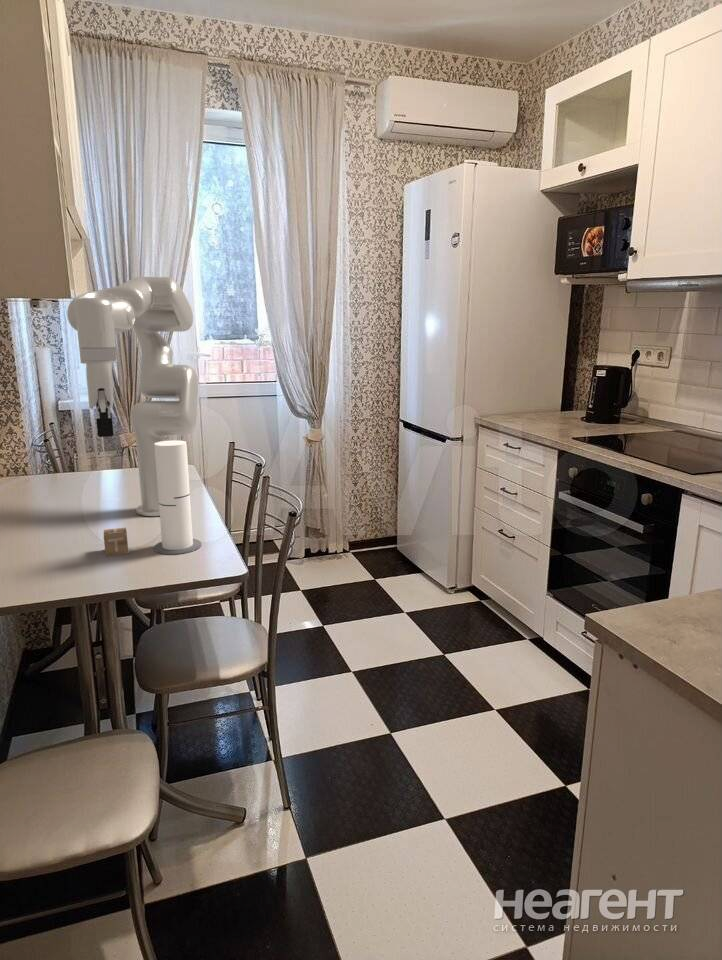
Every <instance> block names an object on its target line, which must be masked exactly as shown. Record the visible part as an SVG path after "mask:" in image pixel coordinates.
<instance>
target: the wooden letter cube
mask: <svg viewBox="0 0 722 960" xmlns="http://www.w3.org/2000/svg"><path fill="white" fill-rule="evenodd" d="M103 542H104V553H105V557H111V556H112V557H113V556H120V555H128V554H129V545H128V544H129V543H128V532H127V527H119V528H110V529H103Z"/></svg>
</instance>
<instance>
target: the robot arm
mask: <svg viewBox="0 0 722 960" xmlns="http://www.w3.org/2000/svg"><path fill="white" fill-rule="evenodd" d="M66 313H67V314H66V316H67V320H68V323H69V324H70V326H71V327H72V328H73V329H74V330H75V331H77V339H78V349H79V358H80V359H79V361H80V364H85V375H86V376H85V377H86V385H87V395H88V397H87V398H88V407H89V409H91V410H93V409H94V408H95V409H96V419H95V420H96V430H97V437H98V438H108V437H109V438H110V437H114V425H113V424H114V423H113V413H112V412H111V409H112V408H113V407H114V379H113V366H112V364H117V363H118V359H117V358H118V356H117V355H118V354H117V345H116V334H115V333H125V332H128V331H130V330H131V329H132V328H133V330H134V333H135V335H136V337H137V340H138V341H139V342H138V343H139V346H140V349H141V356H140V367H139V368H140V371H139V390H140V394H142V395H143V396H144V397H145V398H149V399H159V400H145V401H140V402H138V403H135V404H134V405H133V406H132V408H131V410H130V423H131V425H132V426H131V427H132V430H133V433H134V437H135V445H136V451H137V452H136V454H137V463H138V465H137V466H138V478H139V488H140V489H139V490H140V491H139V492H140V500H141V501H140V503H141V504H140V505H138V506H137V507H136V508H135V509H136V514H138V515H140V516H144V517H160V510H159V497H158V484H157V471H156V458H155V445H154V444H155V443H157V442H161V441H168V440H167V439H166V438H165V437H164V436H187V435H191V434H192V433H194V431H195V429H196V425H197V415H198V414H197V409H198V394H199V392H198V391H199V390H198V389H199V385H198V384H199V382H198V375H197V373H196V371H195V369H194V368H193V367H192V366H190V365H187V364H173V356H174V351H173V349H172V346H171V345H170V344H169V343H168V341H167V340H166V339H165V338H164V337H163V336H162V335H161V334H160V333H159V332H169V333H170V332H172V333H173V332H177V333H178V332H179V333H180V332H181V333H182V332H187V331H189V330H190V329H191V327H192V326H193V323H194V314H193V309H192V306H191V304H190V302H189V300H188V298H187V296H186V295H185V292H184V290H183V289H182V287H181V286H180V284H179V283H178V282H177V280H176V279H174V278H172V277H168V276H139V277H138V276H137V277H133V278H131V279H129V280H127V281H126V282H123V283H122V284H120V285H116V286H110V287H108V288H104V289H98V290H93V291H88V292H84V293H82V294H80V295H78V296H76V297H74V298H72V300H71V301H70V303H69V304H68V306H67V311H66ZM161 399H162V400H161ZM163 399H165V400H163ZM166 399H169V400H166ZM171 399H175V400H171ZM176 399H177V400H176Z"/></svg>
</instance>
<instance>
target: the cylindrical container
mask: <svg viewBox="0 0 722 960" xmlns="http://www.w3.org/2000/svg"><path fill="white" fill-rule="evenodd" d="M154 445H155V458H156V471H157V484H158V497H159V510H160V516H159V519H160V521H159V522H160V532H161V535H160V536H161V542H162V547H163V548H164V549H168V550H180V549H185V548H188V547H190V546H192V545H193V539H194V538H193V537H194V536H193V526H192V524H193V523H192V521H193V520H192V508H191V496H190V495H191V494H190V492H191V491H190V480H189V479H190V477H189V461H188V448H187V447H188V445H187V441H185V440H180V439H179V440H174V439H173V440H167V441H161V442H157V443H155V444H154Z"/></svg>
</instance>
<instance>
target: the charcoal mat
mask: <svg viewBox="0 0 722 960" xmlns="http://www.w3.org/2000/svg"><path fill="white" fill-rule="evenodd" d="M201 547H202V541H200V540H199V539H196V538H193V545H192V546H190V547H188V548H185V549H180V550H168V549H164V548H163V547H162V541H160V542H157V543H156V544H155V545H154V546H153V549H154V552H156V553H158V554H160V555H169V556H172V555H173V556H174V555H184V554H188V553H192V552H195V551H197V550H199V549H200V548H201Z"/></svg>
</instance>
